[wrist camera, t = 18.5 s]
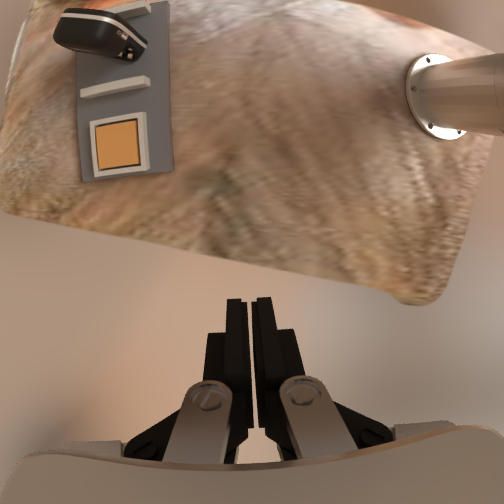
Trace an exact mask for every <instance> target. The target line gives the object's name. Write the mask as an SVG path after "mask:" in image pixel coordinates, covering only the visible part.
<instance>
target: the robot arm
mask: <svg viewBox="0 0 504 504" xmlns="http://www.w3.org/2000/svg"><path fill="white" fill-rule="evenodd" d="M406 95H407V101H408V104H409V107H410V110H411V112H412V114H413V116H414V118H415V119H416V121H417V122H418V124H419V125H420V126H421V127H422V128H423V129H424V130H425V131H426V132H427V133H429V134H430V135H432V136H434V137H436V138H439V139H445V140H454V139H456V138H459V137H461V136H462V135H464V134H465V133H466V131H467V132H474V133H481V134H488V135H494V136H499V137H504V53H499V54H491V55H484V56H477V57H470V58H464V59H458V60H453V61H452V60H451V59H449V58H448V57H445V56H443V55H439V54H428V55H424V56H422V57H419V58H418V59H417V60H415V61H414V62H413V64H412V65H411V67H410V68H409V71H408V73H407V78H406ZM251 305H252V330H253V331H252V332H253V355H254V356H253V357H254V372H255V385H256V398H257V409H258V423H259V428H265V435H266V436H267V437H268V438H270V439H271V440H273V441H275V442H276V443H277V449H278V452H279V455H280V458H281V461H280V462H268V463H252V464H237V458H238V452H239V445H240V444H241V443H242V442H243V441H245V440H246V439H247V438H248V428H254V419H253V399H252V378H251V360H250V346H249V330H248V312H247V302H241V299H227V311H226V332H225V333H208V338H207V346H206V355H205V364H204V373H203V381H202V382H198V383H196V384H194V385H193V386H192V387H190V388H189V389H188V391H187V393H186V394H185V397H184V400H183V403H182V406H181V408H180V409H179V410H178V411H176V412H174V413H173V414H171V415H170V416H168V417H166V418H165V419H163V420H162V421H160V422H159V423H157V424H155V425H154V426H152V427H151V428H149V429H147V430H146V431H144V432H142V433H141V434H139V435H137V436H136V437H134V438H133V439H131V440H130V441H129V442H128V443H122V442H121V441H120V440H119V441H118V440H117V441H91V442H67V443H64V444H63V445H61V446H60V447H59V449H58V450H46V451H38V452H34V453H31V454H28V455H26V456H24V457H23V458H22V459H20V460H19V461H18V463H17V464H16V465H15V467H14V468H13V470H12V471H11V473H10V475H9V477H8V479H7V481H6V483H5V486H4V488H3V490H2V492H1V495H0V504H504V437H503V436H502V435H501V434H500V433H499V432H498V431H496V430H495V429H493V428H490V427H488V426H482V425H458V426H456V425H454V424H453V423H452V422H449V421H442V420H441V421H432V422H422V423H411V424H395V425H394V426H393V427H390V428H388V427H386V426H385V425H383V424H382V423H380V422H377V421H375V420H373V419H370V418H368V417H366V416H364V415H362V414H359V413H357V412H355V411H353V410H351V409H349V408H346V407H345V406H342V405H340V404H338V403H336V402H334V401H333V400H332V398H331V397H330V394H329V393H328V391H327V389H326V387H325V386H324V384H323V383H322V382H321V381H320V380H318V379H317V378H314V377H311V376H306V375H305V371H304V367H303V364H302V359H301V355H300V352H299V348H298V344H297V340H296V336H295V332H294V330H293V329H282V330H277V326H276V321H275V315H274V310H273V305H272V300H271V297H263V298H257V302H252V303H251Z"/></svg>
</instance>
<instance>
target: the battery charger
mask: <svg viewBox="0 0 504 504" xmlns="http://www.w3.org/2000/svg"><path fill="white" fill-rule="evenodd" d="M53 39H54V41H55V42H56V43H57V44H59V45H61V46H63V47H65V48H67V49H70V50H72V51H76V52H82V53H89V54H94V55H99V56H104V57H110V58H115V59H119V60H124V61H128V62H135V61H137V60H138V59H139V58H140V57H141V56H142V54H143V52H144V50H145V49H146V48H147V44H148V41H147V40H146V39H145V38H144V37H142V36H141V35H140V34H139V33H138V32H137V31H136V30H135V29H134V28H133V27H132V26H131V25H130V24H129V23H128V22H126V21H125V20H124V19H123V18H122V17H120V16H119V15H117V14H115V13H112V12H108V11H103V10H95V9H83V8H67V9H66V10H65V11H64V12H63V14H61V16H60V20H59V22H58V24H57V27H56V29H55V31H54V34H53Z"/></svg>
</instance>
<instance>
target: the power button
mask: <svg viewBox="0 0 504 504" xmlns="http://www.w3.org/2000/svg"><path fill="white" fill-rule="evenodd" d="M96 138H97V150H98V161H99V169H103V168H110V167H117V166H124V165H132V164H138V163H141V158H140V146H139V132H138V121H129V122H123V123H117V124H112V125H106V126H101V127H96Z"/></svg>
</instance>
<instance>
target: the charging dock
mask: <svg viewBox="0 0 504 504" xmlns="http://www.w3.org/2000/svg"><path fill="white" fill-rule="evenodd" d="M103 11H108V12H112V13H115V14H117V15H119V16H120V17H122V18H123V19H124V20H125V21H126V22H128V23H129V24H130V25H131V26H132V27H133V28H134V29H135V30H136V31H137V32H138V33H139V34H140V35H141V36H142V37H144V38H145V39H146V40H147V41H148V44H147V48H146V49H145V50H144V52H143V54H142V56H141V57H140V58H139V59H138V60H137V61H135V62H128V61H124V60H119V59H115V58H110V57H104V56H99V55H94V54H89V53H82V52H77V58H76V106H77V126H78V140H79V152H80V162H81V170H82V178H83V182H88V181H95V180H102V179H109V178H117V177H125V176H133V175H142V174H151V173H161V172H172V171H173V170H174V161H173V146H172V130H171V109H170V79H169V14H170V4H169V3H168V1H162V2H157V3H151V4H149V3H148V2H147V1H146V0H141V1H137V2H132V3H128V4H124V5H120V6H116V7H112V8H109V9H105V10H103ZM129 121H138V132H139V146H140V158H141V163H138V164H132V165H124V166H117V167H110V168H103V169H99V161H98V150H97V138H96V127H101V126H106V125H112V124H117V123H123V122H129Z"/></svg>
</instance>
